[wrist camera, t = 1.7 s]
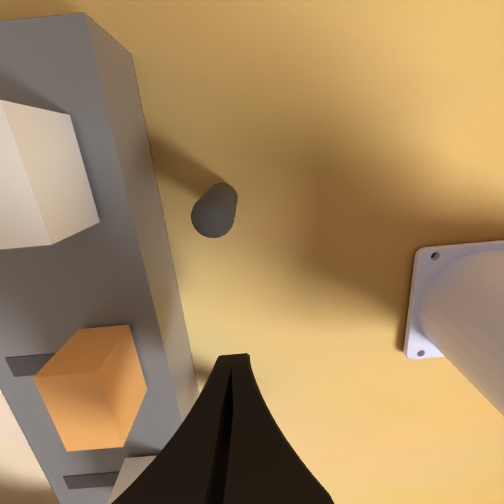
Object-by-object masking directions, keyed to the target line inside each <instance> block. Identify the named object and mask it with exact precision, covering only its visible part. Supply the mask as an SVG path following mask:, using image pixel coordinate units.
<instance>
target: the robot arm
mask: <svg viewBox="0 0 504 504" xmlns="http://www.w3.org/2000/svg"><path fill="white" fill-rule="evenodd" d="M433 253H436V254H435V256H434V257H433V258H431V255H432V254H433ZM420 350H421V351H420ZM418 351H420V352H418ZM403 352H404V354H405V356H406V357H407V358H408V359H422V358H434V357H446V358H447V359H448V360H449V361H450V362H451V363H452V364H453V365H454V366H455V367H456V368H457V369H458V370H459V371H460V372H461V373H462V374H463V375H464V376H465V377H466V378H467V379H468V381H469V382H470V383H471V384H472V385H473V386H474V387H475V388H476V389H477V390H478V391H479V392H480V393H481V394H482V395H483V396H484V397H485V398H486V399H487V400H488V401H489V402H490V403H491V404H492V405H493V406H494V407H495V408H496V409H497V410H498V411H499V412H500V413H501V414H502V415H503V416H504V240H499V241H488V242H477V243H465V244H454V245H443V246H432V247H423V248H420V249H419V250H418V251H417V252H416V254H415V259H414V268H413V276H412V284H411V292H410V301H409V309H408V317H407V325H406V333H405V342H404V350H403ZM111 504H334V502H333V500H332V498H331V496H330V495H329V493H328V492H327V491H326V490H325V489H324V487H323V486H322V485H321V484H320V483H319V482H318V480H317V479H316V478H315V477H314V476H313V475H312V473H311V472H310V471H309V470H308V468H307V467H306V466H305V464H304V463H303V462H302V461H301V459H300V458H299V457H298V455H297V454H296V452H295V451H294V449H293V448H292V447H291V445H290V444H289V442H288V441H287V440H286V438H285V437H284V435H283V433H282V432H281V430H280V429H279V427H278V425H277V424H276V422H275V420H274V418H273V417H272V415H271V413H270V411H269V409H268V407H267V405H266V403H265V401H264V399H263V397H262V395H261V393H260V390H259V388H258V385H257V383H256V380H255V378H254V375H253V372H252V368H251V364H250V355H248V354H247V353H244V354H233V355H222V356H219V357H218V358H217V360H216V363H215V365H214V368H213V370H212V372H211V374H210V376H209V378H208V380H207V382H206V384H205V386H204V388H203V390H202V392H201V393H200V395H199V397H198V399H197V400H196V402H195V404H194V405H193V407H192V408H191V410H190V412H189V413H188V415H187V416H186V418H185V419H184V421H183V422H182V424H181V425H180V427H179V428H178V429H177V431H176V432H175V433H174V435H173V436H172V437H171V439H170V440H169V441H168V443H167V444H166V445H165V446H164V448H163V449H162V450H161V451H160V453H159V454H158V455H157V456H156V457H155V458H154V460H153V461H152V462H151V463H150V464H149V465H148V466H147V467H146V468H145V470H144V471H143V472H142V473H141V474H140V475H139V476H138V477H137V478H136V479H135V481H134V482H133V483H132V484H131V485H130V486H129V487H128V488H127V489H126V490H125V491H124V492H123V493H122V494H121V495H120V496H118V497H117V498H116V499H115V500H114V501H113V502H112V503H111Z"/></svg>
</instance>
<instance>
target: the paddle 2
mask: <svg viewBox="0 0 504 504" xmlns="http://www.w3.org/2000/svg"><path fill="white" fill-rule="evenodd" d="M155 457H156V456H145V457H133V458H125V460H124V462H123V465H122V467H121V470H120V472H119V475H118V478H117V480H116V483H115V485H114V488H113V490H112V493H111V495H110V498H109V500H108V503H107V504H111V503H112V502H113V501H114V500H115V499H116V498H117V497H118V496H120V495H121V494H122V493H123V492H124V491H125V490H126V489H127V488H128V487H129V486H130V485H131V484H132V483H133V482H134V481H135V479H136V478H137V477H138V476H139V475H140V474H141V473H142V472H143V471H144V470H145V468H146V467H147V466H148V465H149V464H150V463H151V462H152V461H153V460H154V458H155Z"/></svg>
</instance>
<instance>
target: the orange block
mask: <svg viewBox="0 0 504 504" xmlns="http://www.w3.org/2000/svg"><path fill="white" fill-rule="evenodd" d="M33 379H34V381H35V383H36V385H37V388H38V390H39V392H40V394H41V396H42V398H43V401H44V403H45V405H46V407H47V409H48V412H49V414H50V416H51V418H52V420H53V423H54V425H55V427H56V429H57V431H58V433H59V436H60V438H61V440H62V442H63V444H64V447H65V449H66V451H67V452H69V451H80V450H92V449H104V448H116V447H123V446H124V444H125V441H126V439H127V437H128V434H129V432H130V429H131V427H132V425H133V422H134V420H135V417H136V415H137V413H138V410H139V408H140V406H141V403H142V401H143V398H144V396H145V394H146V391H147V387H146V383H145V379H144V376H143V372H142V369H141V365H140V362H139V358H138V355H137V351H136V348H135V344H134V341H133V337H132V333H131V330H130V326H129V325H119V326H108V327H97V328H85V329H79V330H78V331H77V332H76V333H75V334H74V335H73V336H72V337H71V338H70V339H69V340H68V341H67V342H66V343H65V344H64V345H63V346H62V347H61V348H60V350H59V351H58V352H57V353H56V354H55V355H54V356H53V357H52V358H51V359H50V360H49V361H48V362H47V363H46V364H45V365H44V366H43V367H42V368H41V370H40V371H39V372H38V373H37V374H36V375H35V376H34V377H33Z"/></svg>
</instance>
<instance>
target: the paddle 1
mask: <svg viewBox="0 0 504 504" xmlns="http://www.w3.org/2000/svg"><path fill="white" fill-rule="evenodd" d="M99 222H100V220H99V217H98V213H97V210H96V206H95V202H94V199H93V195H92V192H91V188H90V185H89V181H88V178H87V174H86V171H85V167H84V164H83V160H82V156H81V153H80V149H79V146H78V142H77V139H76V135H75V132H74V128H73V125H72V121H71V118H70V115H67V114H63V113H58V112H54V111H49V110H45V109H40V108H35V107H31V106H26V105H22V104H17V103H13V102H8V101H4V100H0V249H11V248H22V247H33V246H44V245H52V244H55V243H57V242H59V241H61V240H63V239H65V238H67V237H69V236H72V235H74V234H76V233H78V232H80V231H82V230H84V229H86V228H89V227H91V226H93V225H95V224H97V223H99Z"/></svg>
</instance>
